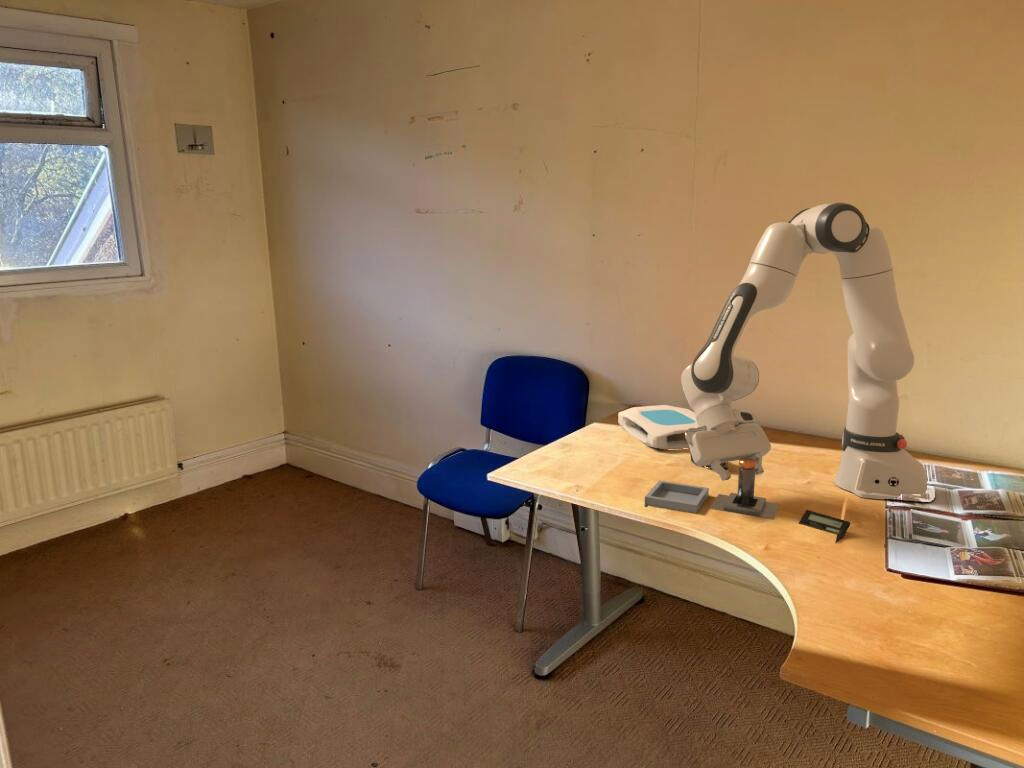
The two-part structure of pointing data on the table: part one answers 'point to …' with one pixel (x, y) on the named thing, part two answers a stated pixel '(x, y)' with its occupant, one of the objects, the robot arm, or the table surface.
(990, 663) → the table surface
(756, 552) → the table surface
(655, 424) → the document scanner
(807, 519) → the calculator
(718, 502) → the collar plate
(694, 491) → the tray
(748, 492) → the pin
